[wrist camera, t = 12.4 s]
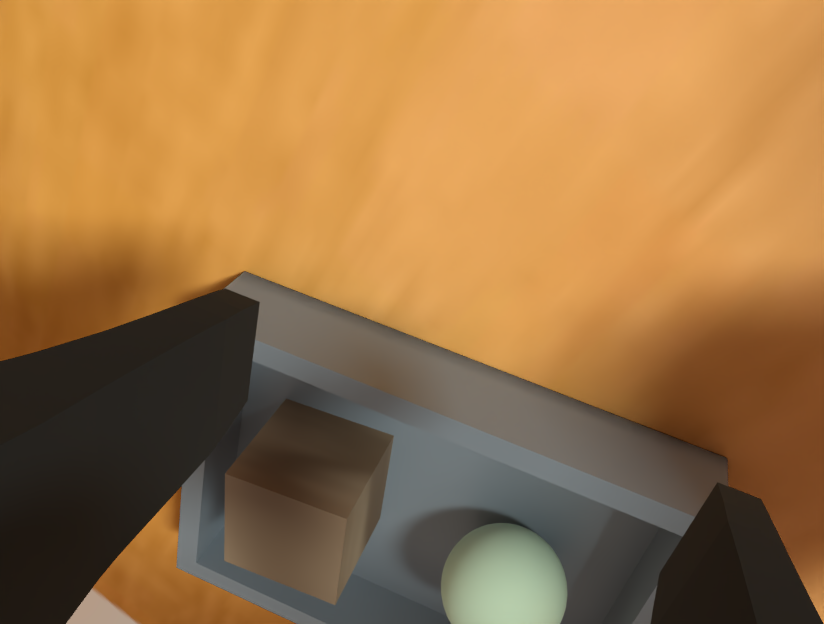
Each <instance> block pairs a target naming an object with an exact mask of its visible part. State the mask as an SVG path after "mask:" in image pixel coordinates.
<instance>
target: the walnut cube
mask: <svg viewBox="0 0 824 624" xmlns="http://www.w3.org/2000/svg"><path fill="white" fill-rule="evenodd" d="M393 439H394V436H393V435H391V434H388V433H385V432H382V431H379V430H376V429H373V428H370V427H367V426H364V425H361V424H359V423H356V422H353V421H350V420H347V419H344V418H341V417H338V416H335V415H332V414H329V413H327V412H324V411H321V410H318V409H315V408H312V407H309V406H306V405H303V404H300V403H297V402H295V401H292V400H289V399H285V401H284V402H283V403H282V404H281V406H280V407H279V408H278V409H277V410H276V412H275V413H274V414H273V415H272V417H271V418H270V419H269V420H268V422H267V423H266V424H265V425H264V426H263V428H262V429H261V430H260V431H259V433H258V434H257V435H256V436H255V437H254V439H253V440H252V441H251V442H250V444H249V445H248V446H247V447H246V448H245V450H244V451H243V452H242V453H241V455H240V456H239V457H238V458H237V460H236V461H235V462H234V463H233V464H232V466H231V467H230V468H229V469H228V471H227V472H226V473H225V536H224V561H226V562H228V563H231V564H233V565H236V566H238V567H241V568H243V569H246V570H248V571H251V572H253V573H256V574H258V575H261V576H263V577H266V578H268V579H271V580H273V581H276V582H278V583H281V584H283V585H286V586H288V587H291V588H293V589H296V590H298V591H301V592H303V593H306V594H308V595H311V596H313V597H316V598H318V599H321V600H323V601H326V602H328V603H331V604H333V605H336V603H337V601H338V599H339V597H340V595H341V593H342V591H343V589H344V587H345V585H346V583H347V581H348V579H349V577H350V576H351V574H352V572H353V570H354V568H355V566H356V564H357V562H358V560H359V558H360V556H361V554H362V552H363V550H364V548H365V546H366V544H367V542H368V541H369V539H370V537H371V535H372V533H373V531H374V529H375V527H376V525H377V523H378V521H379V519H380V516H381V510H382V504H383V498H384V492H385V486H386V480H387V474H388V468H389V462H390V456H391V451H392V445H393Z"/></svg>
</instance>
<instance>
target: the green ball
mask: <svg viewBox="0 0 824 624" xmlns="http://www.w3.org/2000/svg"><path fill="white" fill-rule="evenodd" d="M441 596H442V601H443V606H444V609H445V612H446V615H447V617H448V619H449V621H450V623H451V624H560V623H561V621H562V618H563V616H564V612H565V609H566V603H567V581H566V576H565V572H564V569H563V567H562V564H561V562H560V560H559V558H558V556H557V555H556V553H555V552H554V550H553V549H552V548H551V546H550V545H549V544H548V543H547V542H546V541H545V540H544V539H543V538H541V537H540V536H539V535H538V534H536V533H535V532H533V531H531V530H529V529H527V528H525V527H522V526H519V525H515V524H510V523H494V524H488V525H484V526H481V527H479V528H477V529H474V530H473V531H471V532H470V533H468V534H467V535H465V536H464V537H463V538H462V539H461V540H460V541H459V542H458V543H457V544H456V545H455V546H454V548H453V549H452V551H451V552H450V554H449V556H448V558H447V560H446V562H445V565H444V568H443V572H442V578H441Z"/></svg>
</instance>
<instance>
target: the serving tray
mask: <svg viewBox="0 0 824 624" xmlns="http://www.w3.org/2000/svg"><path fill="white" fill-rule="evenodd" d="M225 288H226V289H228V290H231V291H233V292H236V293H238V294H241V295H243V296H246V297H248V298H251V299H254V300H256V301H259V302H260V305H259V313H258V321H257V329H256V337H255V345H254V353H253V361H252V369H251V377H250V385H249V393H248V401H247V402H246V404H245V405H244V407H243V408H242V410H241V411H240V413H239V414H238V416H237V417H236V419H235V420H234V422H233V423H232V425H231V426H230V428H229V429H228V430H227V432H226V433H225V435H224V436H223V437H222V439H221V440H220V442H219V443H218V444H217V446H216V447H215V449H214V450H213V451H212V452H211V453H210V455H209V456H208V457H207V458H206V459H205V460H204V461H203V463H202V464H201V465H200V466H199V467H198V468H197V469H196V470H195V471H194V473H193V474H192V475H191V476H190V477H189V478H188V479H187V480H186V482H185V483H184V484H183V485H182V491H181V506H180V522H179V537H178V552H177V567H176V568H179V569H181V570H183V571H185V572H187V573H189V574H191V575H194V576H196V577H198V578H200V579H202V580H204V581H206V582H209V583H211V584H213V585H215V586H217V587H219V588H221V589H224V590H226V591H228V592H230V593H232V594H234V595H236V596H239V597H241V598H243V599H245V600H247V601H249V602H251V603H254V604H256V605H258V606H260V607H262V608H264V609H266V610H268V611H271V612H273V613H275V614H277V615H279V616H281V617H283V618H286V619H288V620H290V621H292V622H294V623H296V624H451V623H450V621H449V619H448V617H447V615H446V612H445V609H444V606H443V601H442V596H441V578H442V572H443V568H444V565H445V562H446V560H447V558H448V556H449V554H450V552H451V551H452V549H453V548H454V546H455V545H456V544H457V543H458V542H459V541H460V540H461V539H462V538H463V537H464V536H465V535H467V534H468V533H470V532H471V531H473V530H474V529H477V528H479V527H481V526H484V525H488V524H494V523H510V524H515V525H519V526H522V527H525V528H527V529H529V530H531V531H533V532H535V533H536V534H538V535H539V536H540V537H541V538H543V539H544V540H545V541H546V542H547V543H548V544H549V545H550V546H551V548H552V549H553V550H554V552H555V553H556V555H557V556H558V558H559V560H560V562H561V564H562V567H563V569H564V572H565V576H566V581H567V603H566V609H565V612H564V616H563V618H562V621H561V623H560V624H651V618H652V612H653V606H654V600H655V595H656V589H657V584H658V579H659V573H660V571H661V570H662V568H663V567H664V565H665V564H666V562H667V560H668V559H669V557H670V556H671V554H672V553H673V551H674V549H675V548H676V546H677V545H678V543H679V542H680V540H681V538H682V537H683V535H684V534H685V532H686V531H687V529H688V528H689V526H690V524H691V523H692V521H693V520H694V518H695V517H696V515H697V513H698V512H699V510H700V509H701V507H702V506H703V504H704V502H705V501H706V499H707V498H708V496H709V495H710V493H711V491H712V490H713V488H714V487H715V485H716V484H717V482H718V483H721V484H724V485H726V486H728V460H727V458H725V457H723V456H720V455H717V454H715V453H712V452H710V451H707V450H705V449H702V448H699V447H697V446H694V445H692V444H689V443H686V442H684V441H681V440H679V439H676V438H674V437H671V436H668V435H666V434H663V433H661V432H658V431H655V430H653V429H650V428H648V427H645V426H643V425H640V424H637V423H635V422H632V421H630V420H627V419H625V418H622V417H619V416H617V415H614V414H612V413H609V412H606V411H604V410H601V409H599V408H596V407H594V406H591V405H588V404H586V403H583V402H581V401H578V400H576V399H573V398H570V397H568V396H565V395H563V394H560V393H557V392H555V391H552V390H550V389H547V388H545V387H542V386H539V385H537V384H534V383H532V382H529V381H526V380H524V379H521V378H519V377H516V376H514V375H511V374H508V373H506V372H503V371H501V370H498V369H496V368H493V367H490V366H488V365H485V364H483V363H480V362H477V361H475V360H472V359H470V358H467V357H465V356H462V355H459V354H457V353H454V352H452V351H449V350H447V349H444V348H441V347H439V346H436V345H434V344H431V343H428V342H426V341H423V340H421V339H418V338H416V337H413V336H410V335H408V334H405V333H403V332H400V331H398V330H395V329H392V328H390V327H387V326H385V325H382V324H379V323H377V322H374V321H372V320H369V319H367V318H364V317H361V316H359V315H356V314H354V313H351V312H348V311H346V310H343V309H341V308H338V307H336V306H333V305H330V304H328V303H325V302H323V301H320V300H318V299H315V298H312V297H310V296H307V295H305V294H302V293H299V292H297V291H294V290H292V289H289V288H287V287H284V286H281V285H279V284H276V283H274V282H271V281H269V280H266V279H263V278H261V277H258V276H256V275H253V274H250V273H248V272H245V271H244V272H243V273H242V274H241V275H240V276H238V277H237V278H236V279H235V280H234V281H232V282H231V283H230V284H229V285H228V286H227V287H225ZM225 288H224V289H225ZM285 399H289V400H292V401H295V402H297V403H300V404H303V405H306V406H309V407H312V408H315V409H318V410H321V411H324V412H327V413H329V414H332V415H335V416H338V417H341V418H344V419H347V420H350V421H353V422H356V423H359V424H361V425H364V426H367V427H370V428H373V429H376V430H379V431H382V432H385V433H388V434H391V435H393V436H394V439H393V445H392V451H391V456H390V462H389V468H388V474H387V480H386V486H385V492H384V498H383V504H382V510H381V516H380V519H379V521H378V523H377V525H376V527H375V529H374V531H373V533H372V535H371V537H370V539H369V541H368V542H367V544H366V546H365V548H364V550H363V552H362V554H361V556H360V558H359V560H358V562H357V564H356V566H355V568H354V570H353V572H352V574H351V576H350V577H349V579H348V581H347V583H346V585H345V587H344V589H343V591H342V593H341V595H340V597H339V599H338V601H337V603H336V605H333V604H331V603H328V602H326V601H323V600H321V599H318V598H316V597H313V596H311V595H308V594H306V593H303V592H301V591H298V590H296V589H293V588H291V587H288V586H286V585H283V584H281V583H278V582H276V581H273V580H271V579H268V578H266V577H263V576H261V575H258V574H256V573H253V572H251V571H248V570H246V569H243V568H241V567H238V566H236V565H233V564H231V563H228V562H226V561H224V536H225V473H226V472H227V471H228V469H229V468H230V467H231V466H232V464H233V463H234V462H235V461H236V460H237V458H238V457H239V456H240V455H241V453H242V452H243V451H244V450H245V448H246V447H247V446H248V445H249V444H250V442H251V441H252V440H253V439H254V437H255V436H256V435H257V434H258V433H259V431H260V430H261V429H262V428H263V426H264V425H265V424H266V423H267V422H268V420H269V419H270V418H271V417H272V415H273V414H274V413H275V412H276V410H277V409H278V408H279V407H280V406H281V404H282V403H283V402H284V401H285Z"/></svg>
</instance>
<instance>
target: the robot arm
mask: <svg viewBox="0 0 824 624" xmlns="http://www.w3.org/2000/svg"><path fill="white" fill-rule="evenodd" d="M259 305H260V302H259V301H256V300H254V299H251V298H248V297H246V296H243V295H241V294H238V293H236V292H233V291H231V290H228V289H226V288H225V289H222V290H219V291H216V292H213V293H210V294H207V295H204V296H201V297H198V298H195V299H193V300H190V301H187V302H184V303H182V304H179V305H176V306H173V307H171V308H168V309H165V310H163V311H160V312H157V313H154V314H152V315H149V316H146V317H143V318H140V319H137V320H135V321H132V322H129V323H126V324H123V325H120V326H118V327H115V328H112V329H109V330H106V331H103V332H100V333H97V334H93V335H90V336H87V337H84V338H80V339H77V340H74V341H71V342H67V343H64V344H61V345H58V346H54V347H51V348H48V349H45V350H41V351H38V352H34V353H31V354H27V355H23V356H20V357H16V358H12V359H8V360H4V361H0V624H66V623H67V621H68V620H69V619H70V617H71V616H72V615H73V613H74V612H75V610H76V609H77V608H78V606H79V605H80V604H81V602H82V601H83V600H84V598H85V597H86V595H87V594H88V593H89V592H90V590H91V589H92V588H93V586H94V585H95V584H96V582H97V581H98V579H99V578H100V577H101V576H102V574H103V573H104V572H105V571H106V570H107V568H108V567H109V566H110V565H111V564H112V563H113V561H114V560H115V559H116V558H117V557H118V555H119V554H120V553H121V552H122V551H123V550H124V549H125V547H126V546H127V545H128V544H129V543H130V542H131V541H132V540H133V539H134V538H135V536H136V535H137V534H138V533H139V532H140V531H141V530H142V529H143V528H144V527H145V525H146V524H147V523H148V522H149V521H150V520H151V519H152V518H153V517H154V516H155V515H156V513H157V512H158V511H159V510H160V509H161V508H162V507H163V506H164V505H165V504H166V502H167V501H168V500H169V499H170V498H171V497H172V496H173V495H174V494H175V493H176V491H177V490H178V489H179V488H180V487H181V486H182V485H183V484H184V483H185V482H186V480H187V479H188V478H189V477H190V476H191V475H192V474H193V473H194V471H195V470H196V469H197V468H198V467H199V466H200V465H201V464H202V463H203V461H204V460H205V459H206V458H207V457H208V456H209V455H210V453H211V452H212V451H213V450H214V449H215V447H216V446H217V444H218V443H219V442H220V440H221V439H222V437H223V436H224V435H225V433H226V432H227V430H228V429H229V428H230V426H231V425H232V423H233V422H234V420H235V419H236V417H237V416H238V414H239V413H240V411H241V410H242V408H243V407H244V405H245V404H246V402H247V401H248V393H249V385H250V377H251V369H252V361H253V353H254V345H255V337H256V329H257V321H258V313H259ZM651 624H823V622H822V620H821V618H820V616H819V614H818V612H817V611H816V609H815V607H814V605H813V603H812V601H811V599H810V597H809V595H808V593H807V591H806V589H805V587H804V585H803V583H802V581H801V579H800V577H799V575H798V573H797V571H796V569H795V567H794V565H793V563H792V561H791V559H790V557H789V555H788V553H787V551H786V549H785V547H784V545H783V543H782V540H781V538H780V536H779V534H778V532H777V530H776V528H775V526H774V524H773V522H772V520H771V518H770V516H769V514H768V512H767V510H766V508H765V506H764V504H763V502H762V500H761V499H759V498H757V497H754V496H751V495H749V494H746V493H744V492H741V491H739V490H736V489H734V488H731V487H729V486H726V485H724V484H721V483H718V482H717V484H716V485H715V487H714V488H713V490H712V491H711V493H710V495H709V496H708V498H707V499H706V501H705V502H704V504H703V506H702V507H701V509H700V510H699V512H698V513H697V515H696V517H695V518H694V520H693V521H692V523H691V524H690V526H689V528H688V529H687V531H686V532H685V534H684V535H683V537H682V538H681V540H680V542H679V543H678V545H677V546H676V548H675V549H674V551H673V553H672V554H671V556H670V557H669V559H668V560H667V562H666V564H665V565H664V567H663V568H662V570H661V571H660V573H659V579H658V584H657V589H656V595H655V600H654V606H653V612H652V618H651Z"/></svg>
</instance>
